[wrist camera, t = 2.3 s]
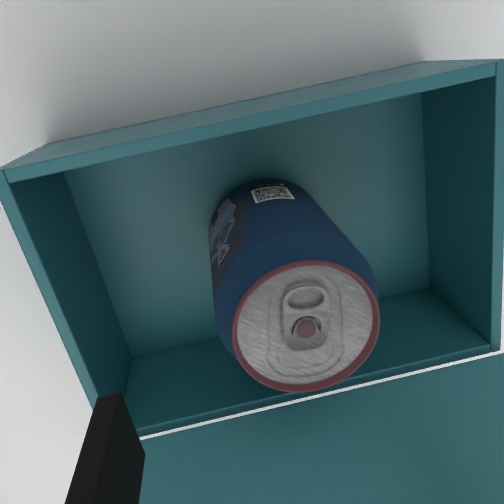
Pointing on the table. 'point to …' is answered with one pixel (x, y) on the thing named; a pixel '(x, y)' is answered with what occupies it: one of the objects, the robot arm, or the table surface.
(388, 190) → the teal lidded box
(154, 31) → the table surface
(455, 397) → the lid
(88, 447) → the robot arm
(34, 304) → the table surface
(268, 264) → the soda can
